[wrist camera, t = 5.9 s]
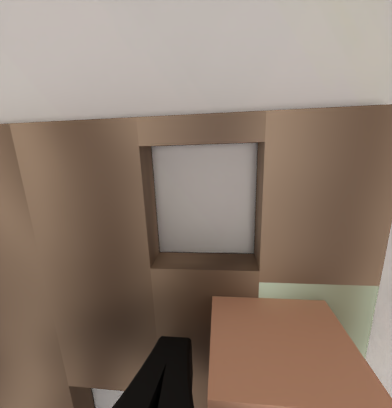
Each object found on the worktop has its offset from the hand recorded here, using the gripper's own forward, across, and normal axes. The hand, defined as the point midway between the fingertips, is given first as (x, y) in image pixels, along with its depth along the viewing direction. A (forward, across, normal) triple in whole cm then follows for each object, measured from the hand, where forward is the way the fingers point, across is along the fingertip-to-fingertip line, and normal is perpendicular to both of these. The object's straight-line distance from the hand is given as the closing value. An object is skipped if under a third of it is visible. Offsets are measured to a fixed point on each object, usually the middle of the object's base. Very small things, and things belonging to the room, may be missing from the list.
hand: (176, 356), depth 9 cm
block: (+1, -4, 0) cm, 4 cm away
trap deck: (+2, +5, 0) cm, 5 cm away
